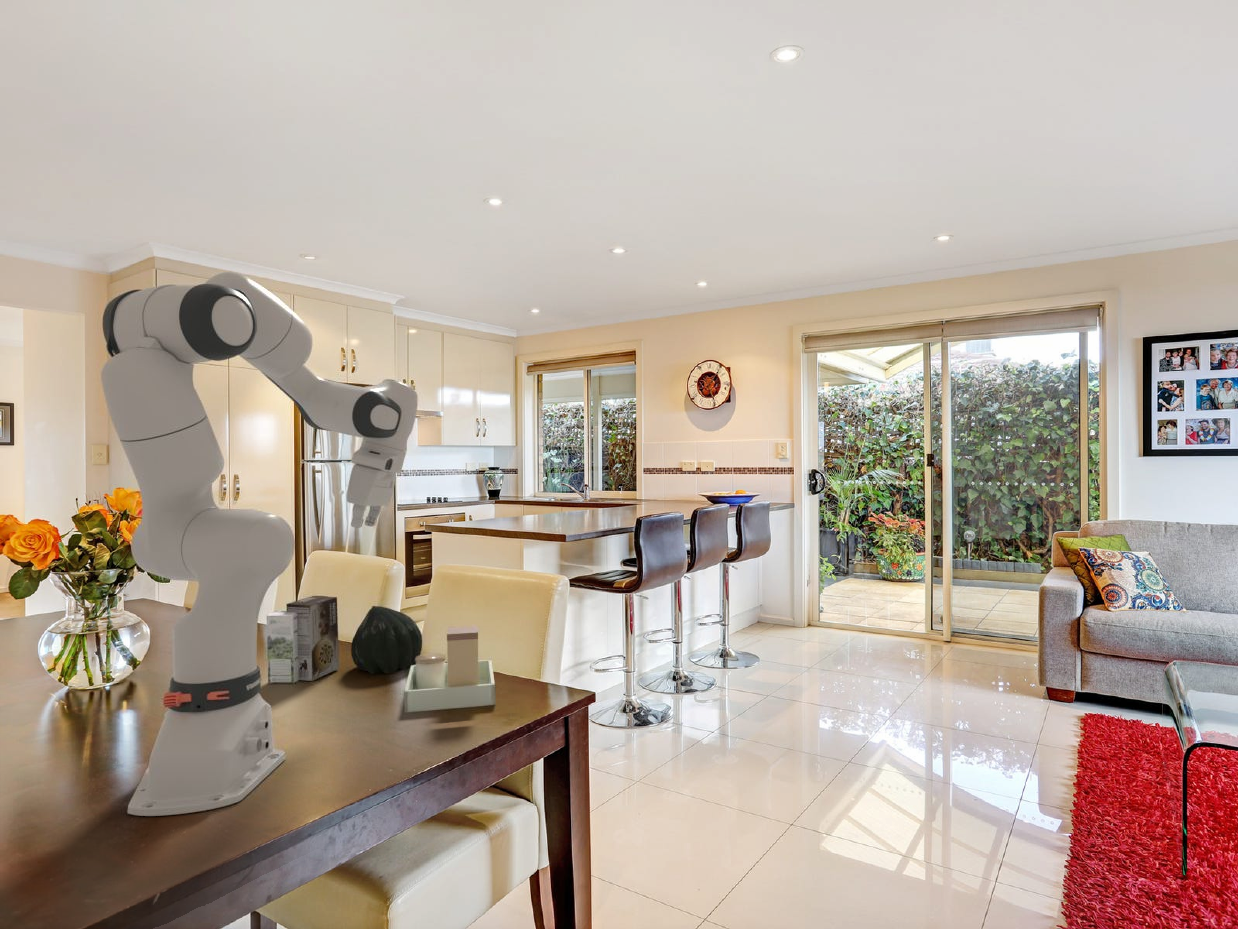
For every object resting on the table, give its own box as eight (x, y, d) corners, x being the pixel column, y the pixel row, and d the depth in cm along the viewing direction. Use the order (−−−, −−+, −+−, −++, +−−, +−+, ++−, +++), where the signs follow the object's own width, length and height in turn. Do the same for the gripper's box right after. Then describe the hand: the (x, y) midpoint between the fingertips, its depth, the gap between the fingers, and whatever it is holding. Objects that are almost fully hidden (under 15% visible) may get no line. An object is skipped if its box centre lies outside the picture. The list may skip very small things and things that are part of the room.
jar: (445, 691, 141) (445, 659, 141) (414, 693, 140) (414, 662, 139) (446, 682, 146) (445, 652, 146) (416, 684, 145) (416, 654, 145)
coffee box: (314, 667, 161) (313, 595, 161) (340, 669, 159) (338, 596, 159) (286, 679, 152) (284, 603, 152) (312, 681, 150) (311, 604, 150)
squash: (444, 643, 159) (411, 589, 164) (389, 663, 146) (355, 603, 151) (413, 678, 165) (383, 625, 170) (358, 700, 153) (326, 641, 158)
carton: (479, 703, 133) (477, 632, 133) (448, 705, 132) (446, 634, 132) (479, 693, 139) (477, 625, 139) (449, 695, 138) (448, 627, 138)
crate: (495, 709, 132) (494, 684, 132) (404, 716, 129) (404, 691, 129) (491, 681, 149) (491, 659, 149) (411, 687, 146) (411, 665, 146)
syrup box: (306, 675, 155) (305, 608, 155) (293, 684, 149) (292, 614, 149) (280, 676, 155) (279, 608, 155) (266, 684, 149) (265, 614, 149)
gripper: (378, 459, 157) (362, 521, 156) (350, 452, 136) (330, 524, 135) (407, 466, 157) (390, 528, 156) (383, 461, 137) (364, 532, 136)
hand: (362, 526), depth 145 cm, fingers open, 8 cm apart
